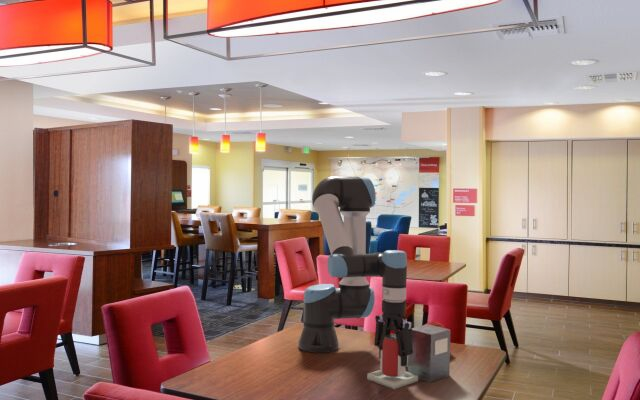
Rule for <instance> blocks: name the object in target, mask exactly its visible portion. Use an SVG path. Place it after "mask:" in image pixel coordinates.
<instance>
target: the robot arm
mask: <svg viewBox="0 0 640 400" xmlns="http://www.w3.org/2000/svg"><path fill="white" fill-rule="evenodd" d="M311 197H312V198H311V202H312V207H313V210H314V212H316V213H317V214H318V216H319V219H320V224H321V225H322V230H323V233H324V236H325V239H326V242H327V245H328V249H329V252H330V255H329V256H328V257H327V264H326V265H327V266H326V267H327V273H328V275H329V276H330V277H332V278H339V279H340V278H341V280H340V281H338V287H336V286H335V285H334V284H333V283H320V284H319V283H318V284H315V285H310V286H308V287H307V288H305V290H304V293H303V294H304V295H303V301H302V302H303V327H302V330H301V333H300V338H299V340H298V348H299V350H301V351H304V352H307V353H315V354H316V353H317V354H318V353H320V354H323V353H324V354H325V353H330V352H331V353H332V352H335V351H337V350H339V348H340V347H339V343H340V342H339V339H338V336H337V333H336V329H335V320H342V319H357V320H358V319H361V318H368V317H369V316H370V315H371V314H372V312H373V310H374V308H375V307H374V306H375V297H376V296H375V290H374V289H373V287H371V286H370V282H369V281H368V280H367V279H366V277H369V278H371V277H381V278H382V283H381V286H382V287H381V289H382V292H381V293H382V295H381V297H382V300H381V311H382V314H378V315H375V334H374V343H373V344H374V346H375V347H377V348H378V349H379V352H378V355H379V357H378V358H379V360H380V364H379V365H380V366H379V367H380V369H379V370H381V371H382V353H383V340H384V338H385V337H384V336H385V335H389V334H392V333H391V332H392V331H393V333H394V334H396V338H397V343H398V347H399V351H400V355H398V377H401V376H404V375H405V372H406V367H405V366H407V355H410V354H413V346H412V328H413V322H412V321H407V319H406V318H405V314H406V313H407V301H406V299H407V278H408V277H407V275H408V273H407V271H408V259H407V258H408V255H407V252H406V251H404V250H398V249H397V250H396V249H393V250H391V249H389V250H388V249H387V250H385V251H383V252H377V251H376V252H373V253H366V247H367V246H366V245H367V244H366V242H367V241H366V240H367V230H366V229H367V216H368V215H369V214H370V213H371V208H373V207H374V206H375V205H376V200H377V194H376V188H375V186H374V182H373V181H372V180H371V179H370V178H369V177H366V176H336V175H332V176H328V177H326V178H323V179H322V180H320V181H319V183H318V184H317V185H316V186H315V188H314V190H313V192H312V196H311Z"/></svg>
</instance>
